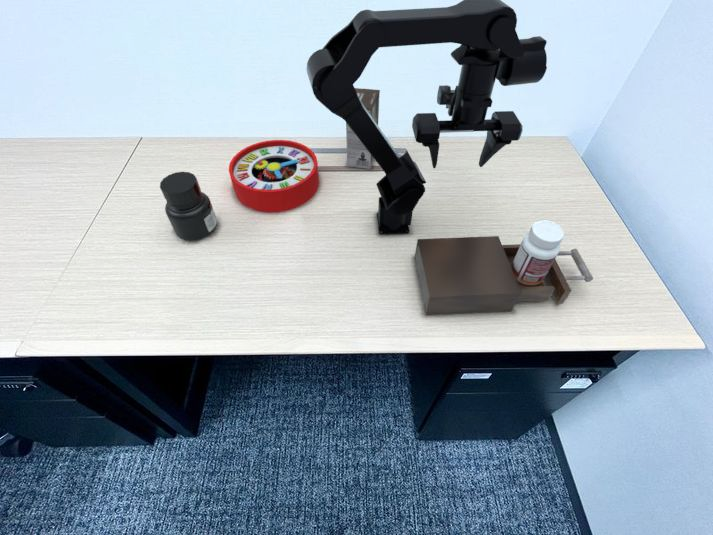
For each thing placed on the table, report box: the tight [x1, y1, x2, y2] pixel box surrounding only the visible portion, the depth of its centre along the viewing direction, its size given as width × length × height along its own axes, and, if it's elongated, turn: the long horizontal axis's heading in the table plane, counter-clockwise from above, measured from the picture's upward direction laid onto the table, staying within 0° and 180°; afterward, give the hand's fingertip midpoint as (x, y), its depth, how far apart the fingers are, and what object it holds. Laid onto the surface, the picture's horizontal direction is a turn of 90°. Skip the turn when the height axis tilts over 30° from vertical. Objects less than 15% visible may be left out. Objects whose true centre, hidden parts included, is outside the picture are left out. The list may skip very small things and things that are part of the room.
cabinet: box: [413, 235, 521, 316], centre depth 73 cm, size 16×14×6 cm
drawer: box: [502, 243, 594, 305], centre depth 74 cm, size 20×12×4 cm, turn 93°
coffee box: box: [345, 87, 381, 170], centre depth 96 cm, size 9×6×16 cm
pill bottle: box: [511, 219, 565, 286], centre depth 70 cm, size 6×6×11 cm
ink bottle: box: [159, 171, 219, 242], centre depth 81 cm, size 10×9×12 cm
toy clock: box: [228, 139, 320, 214], centre depth 93 cm, size 20×6×20 cm
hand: (457, 166), depth 78 cm, fingers open, 9 cm apart
